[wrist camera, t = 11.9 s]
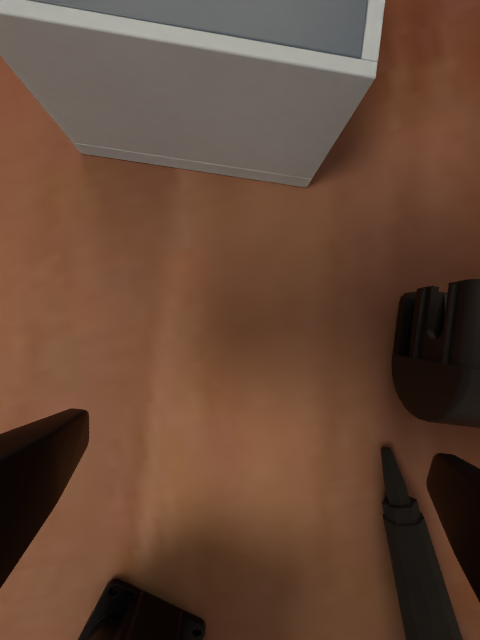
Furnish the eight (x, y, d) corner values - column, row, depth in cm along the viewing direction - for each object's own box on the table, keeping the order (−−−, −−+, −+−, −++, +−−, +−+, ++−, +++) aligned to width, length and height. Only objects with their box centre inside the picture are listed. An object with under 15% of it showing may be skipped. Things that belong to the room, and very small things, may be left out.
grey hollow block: (376, 78, 11) (406, -173, 11) (-43, 5, 10) (-5, -264, 10) (306, 188, 20) (323, 48, 20) (80, 153, 19) (100, 9, 19)
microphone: (339, 440, 23) (412, 755, 20) (342, 471, 17) (443, 908, 15) (421, 430, 22) (509, 766, 19) (452, 460, 16) (583, 938, 14)
